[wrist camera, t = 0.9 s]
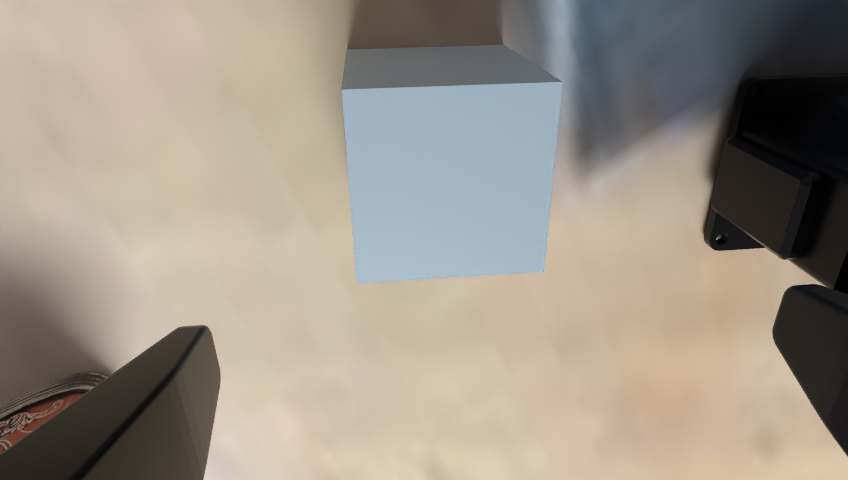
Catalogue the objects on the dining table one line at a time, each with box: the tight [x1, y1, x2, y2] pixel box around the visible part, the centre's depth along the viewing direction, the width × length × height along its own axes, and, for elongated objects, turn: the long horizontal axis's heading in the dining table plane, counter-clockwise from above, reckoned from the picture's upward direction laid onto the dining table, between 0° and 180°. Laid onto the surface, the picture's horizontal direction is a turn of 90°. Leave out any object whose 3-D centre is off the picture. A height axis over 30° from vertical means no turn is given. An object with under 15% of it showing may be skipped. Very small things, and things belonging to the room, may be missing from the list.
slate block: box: [341, 45, 562, 284], centre depth 16 cm, size 5×5×6 cm
